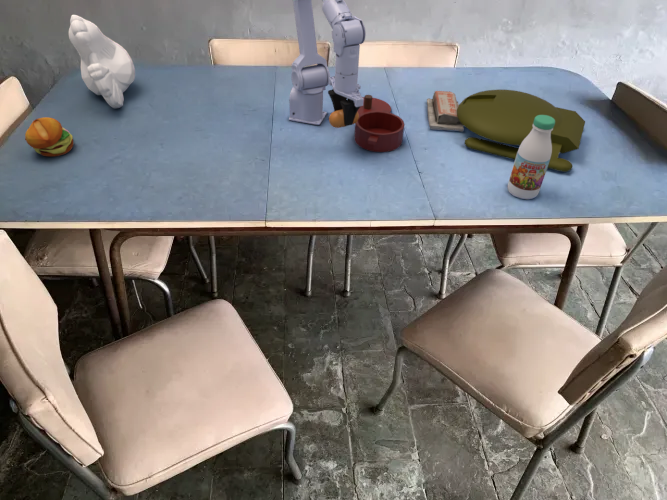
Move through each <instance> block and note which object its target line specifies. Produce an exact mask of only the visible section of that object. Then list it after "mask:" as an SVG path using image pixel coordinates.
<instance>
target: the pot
mask: <svg viewBox="0 0 667 500" xmlns="http://www.w3.org/2000/svg"><path fill="white" fill-rule="evenodd" d="M390 112H391V113H390ZM405 125H406V124H405V122H404V119H402V117H400V116H399V115H397V114H395V113H392V110H391V111H390V110H384V109H383V110H382V111H371V112H366V113H363V114H361V115H359V119H358V121H357V122H356V123H355V124H354V137H353V138H354V142H355V144H356V145H357V146H359V148H361V149H364V150H367V151H370V152H375V153H387V152H392V151H395V150H397V149H399V148H400V147H401V146H402V145H403V140H404V132H405Z"/></svg>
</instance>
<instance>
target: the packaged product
mask: <svg viewBox="0 0 667 500" xmlns="http://www.w3.org/2000/svg"><path fill="white" fill-rule="evenodd" d="M459 104H460V103H459V101H458V100H457V96H456V93H454V92H452V91H445V90H434V92H433V95H432V98H426V106H427V119H428V126H429V130H432V131H433V130H434V131H435V130H436V131H457V132H462V133H463V132H464V130H465V126H464V125H463V124H462V123H461V122H460V121H459V119H458V116H457V108H458V106H459Z"/></svg>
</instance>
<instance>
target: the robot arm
mask: <svg viewBox="0 0 667 500" xmlns="http://www.w3.org/2000/svg"><path fill="white" fill-rule="evenodd" d="M312 1H313V0H292V4H293V5H292V7H293V13H294V20H295V29H296V34H297V35H296V37H297V43H298V52H299V54H298V56H297V57H296V58H295V59H294V60H293V61H292V63H291V76H290V77H291V78H290V79H291V83H292V87H291V89H290V94H289V99H288V101H289V102H288V103H289V118H288V120H289V121H292V122H296V123H304V124H310V125H315V126H320V125H321V124H322V122H323V121H324V119H325V117H326V116H327V114H328V112H327V111H324V91H325V90H326V87H328V86H331V87H332V89H330V90H328V91H327V94H328V96H329V98H330V101H331V103H332V107H333V112H334V111H337V110H342V109H343V114H344V124H345V127H349V126H353V125H354V124H353V121H354V118H355V116H356V113H357V111H358V109H359V108H360V106H363V102H364V98H362V97H363V96H362V95H361V92H360V90H361V87H362V86H361V85H360V84H359V83H358V79H359V64H360V62H359V61H360V50H361V46H360V45H363V44H364V43H365V41H366V36H367V35H366V33H367V32H366V27H365V24H364V22H363V19H362V18H359V17H357V16H356V15H353V13H352V11H351V9H350V7H349V6H348V4H347V2H346V1H345V0H321V1H322V6H321V11H322V12H323V14H324V16H325V18H326V20H327V22H328V24H329V25H330V27H331V38H332V43H333V51H334V53H335V60H334V61H335V63H334V65H335V66H334V76H331V72H330V70H329V67H328V62H327V59H326V58H325V57H324V56H322V55H320V54H319V52H318V43H317V37H316V27H315V20H314V19H315V18H314V12H313V11H314V10H313V2H312ZM352 124H353V125H352ZM348 125H349V126H348Z"/></svg>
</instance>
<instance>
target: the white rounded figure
mask: <svg viewBox="0 0 667 500" xmlns="http://www.w3.org/2000/svg"><path fill="white" fill-rule="evenodd" d="M69 24H70V26H69V29H68V38H69V41H70V43H71V45H72V46H73V48H74V49H75V50H76V52H77V53H78V55H79V58H80V74H81V79H82V81H83V82H84V84H85V86H86V87H87V89H88V90H90V91H91V92H92V93H94V94H95V95H97V96H102V97H103V99H104V101H105V102H106V103H107V104H108V106H109V107H111V108H112V109H119V108H122V107H123V106H124V100H125V99H124V93H125V92H126V91H127V90H128V88H129V87H130V86H131V84H133V82H134V81H135V79H136V69H135V64H134V62H133V61H134V60H133V59H132V57H131V56H130V54H129V52H128V51H127V50H126V49H125V47H123V46H122V45H121V44H119V43H118V42H116V41H114V40H113V39H111V38H110V37H108V36H106V35H105V34H104V33H103V32H102V30H101V29H100V27H99V26H97V25H96V24H95V23H94V22H92V21H90V20H89V19H85V18H84V17H82V16H80V15H77V14H72V15H70V19H69Z"/></svg>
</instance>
